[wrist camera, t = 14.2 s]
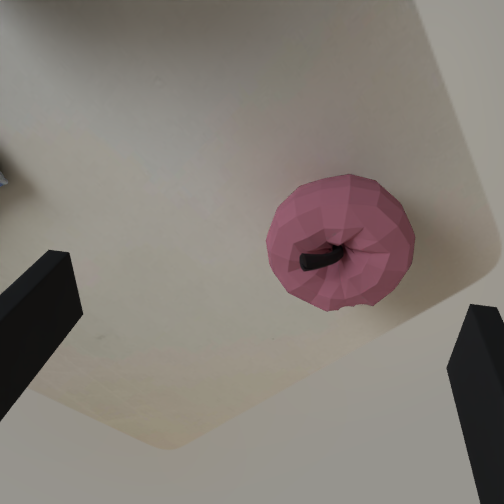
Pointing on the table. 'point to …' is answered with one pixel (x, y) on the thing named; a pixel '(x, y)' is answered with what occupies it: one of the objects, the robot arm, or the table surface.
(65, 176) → the table surface
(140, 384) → the table surface
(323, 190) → the apple
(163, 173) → the table surface
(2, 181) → the dish towel
